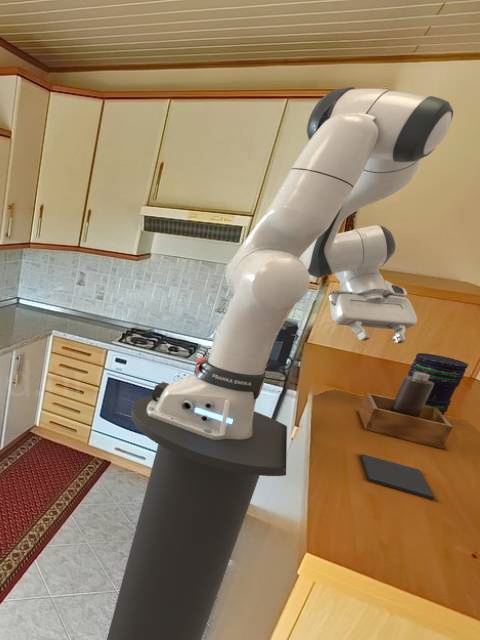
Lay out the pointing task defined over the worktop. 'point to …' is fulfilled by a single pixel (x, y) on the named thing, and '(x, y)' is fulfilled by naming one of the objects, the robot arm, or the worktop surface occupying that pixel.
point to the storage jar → (439, 377)
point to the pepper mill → (412, 395)
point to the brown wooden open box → (404, 422)
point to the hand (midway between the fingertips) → (382, 340)
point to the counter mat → (396, 476)
